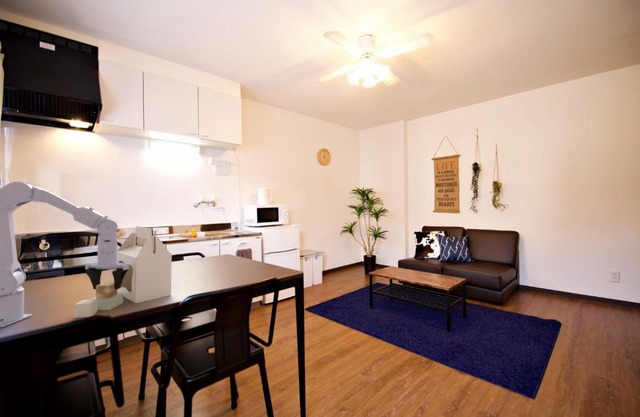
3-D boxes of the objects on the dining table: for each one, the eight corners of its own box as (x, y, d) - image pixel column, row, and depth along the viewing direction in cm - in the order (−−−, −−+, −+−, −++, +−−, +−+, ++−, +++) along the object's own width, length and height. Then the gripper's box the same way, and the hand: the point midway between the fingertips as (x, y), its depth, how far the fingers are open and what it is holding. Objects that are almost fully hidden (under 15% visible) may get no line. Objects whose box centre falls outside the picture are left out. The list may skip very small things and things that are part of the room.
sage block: (109, 310, 101) (109, 299, 101) (89, 310, 101) (89, 299, 101) (123, 303, 108) (123, 293, 108) (104, 303, 108) (104, 293, 108)
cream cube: (90, 316, 94) (90, 303, 94) (74, 318, 93) (74, 304, 93) (97, 311, 99) (97, 299, 99) (82, 312, 98) (82, 299, 98)
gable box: (171, 295, 118) (172, 228, 117) (135, 304, 107) (136, 229, 107) (149, 285, 131) (149, 225, 131) (115, 292, 121) (116, 226, 120)
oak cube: (117, 294, 106) (117, 282, 106) (108, 298, 102) (109, 285, 102) (104, 294, 106) (105, 282, 106) (95, 298, 102) (96, 285, 102)
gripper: (134, 250, 108) (134, 286, 108) (96, 249, 108) (95, 285, 108) (121, 253, 101) (121, 291, 101) (80, 252, 101) (80, 290, 101)
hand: (107, 288), depth 104 cm, fingers open, 7 cm apart
